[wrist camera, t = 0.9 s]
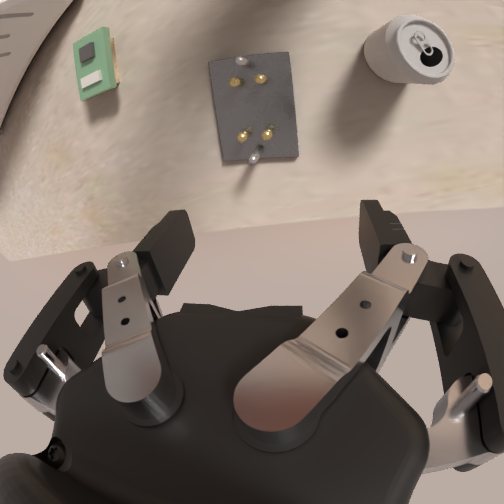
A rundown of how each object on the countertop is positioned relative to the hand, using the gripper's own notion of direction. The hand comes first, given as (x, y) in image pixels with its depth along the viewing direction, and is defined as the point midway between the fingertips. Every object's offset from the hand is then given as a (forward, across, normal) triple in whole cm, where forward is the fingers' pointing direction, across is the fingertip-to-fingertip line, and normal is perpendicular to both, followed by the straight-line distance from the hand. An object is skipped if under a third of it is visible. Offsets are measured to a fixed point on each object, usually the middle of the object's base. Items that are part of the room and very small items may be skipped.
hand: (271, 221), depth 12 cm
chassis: (+25, +4, -4) cm, 26 cm away
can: (+26, -14, -10) cm, 31 cm away
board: (+22, +25, -16) cm, 37 cm away
